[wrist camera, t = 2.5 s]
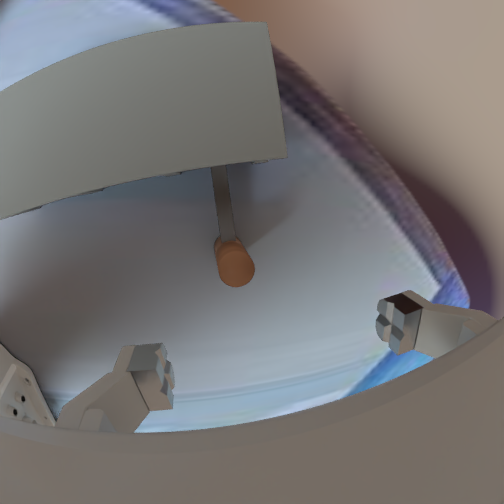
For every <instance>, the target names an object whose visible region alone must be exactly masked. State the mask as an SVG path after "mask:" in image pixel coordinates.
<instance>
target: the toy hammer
mask: <svg viewBox="0 0 504 504" xmlns="http://www.w3.org/2000/svg"><path fill="white" fill-rule="evenodd" d="M211 173H212V180H213V188H214V195H215V202H216V209H217V216H218V223H219V230H220V237H218V239H217V240H216V242H215V244H214V250H215V255H216V261H217V266H218V271H219V275H220V278H221V280H222V281H223V282H224V283H225V284H227V285H229V286H231V287H241V286H244V285H246V284H247V283H248V282H250V280H251V279H252V278H253V276H254V272H255V267H254V263H253V261H252V259H251V258H250V256H249V255H248V253H247V251H246V250H245V248H244V247H243V245H242V243H241V242H240V240H239V239H238V238H237V237H236V236H235V229H234V221H233V214H232V207H231V199H230V192H229V184H228V177H227V169H226V165H221V166H214V167H211Z"/></svg>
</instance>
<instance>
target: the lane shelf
mask: <svg viewBox="0 0 504 504" xmlns="http://www.w3.org/2000/svg"><path fill="white" fill-rule="evenodd" d="M283 158H288V157H287V149H286V141H285V133H284V125H283V118H282V111H281V104H280V97H279V90H278V84H277V77H276V71H275V65H274V59H273V53H272V48H271V42H270V37H269V31H268V26H267V22H230V23H214V24H203V25H194V26H186V27H179V28H173V29H167V30H161V31H156V32H151V33H146V34H142V35H138V36H133V37H129V38H126V39H122V40H118V41H115V42H111V43H108V44H105V45H102V46H99V47H95V48H93V49H90V50H87V51H84V52H81V53H79V54H76V55H73V56H71V57H68V58H66V59H63V60H61V61H59V62H56V63H54V64H52V65H50V66H48V67H45V68H43V69H41V70H39V71H37V72H35V73H33V74H31V75H29V76H27V77H25V78H24V79H22V80H20V81H18V82H16V83H15V84H13V85H11V86H9V87H8V88H6V89H4V90H3V91H1V92H0V220H2V219H5V218H8V217H12V216H15V215H19V214H22V213H26V212H29V211H33V210H36V209H39V208H41V205H45V204H48V203H51V202H54V201H58V200H61V199H64V198H69V197H74V196H80V195H85V194H91V193H95V192H99V191H103V188H105V187H109V186H114V185H118V184H122V183H127V182H131V181H136V180H140V179H145V178H150V177H155V176H174V175H179V174H181V172H182V171H188V170H194V169H200V168H207V167H214V166H221V165H228V164H236V163H244V162H252V164H257V163H265V162H268V160H273V159H283Z"/></svg>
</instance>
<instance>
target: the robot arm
mask: <svg viewBox="0 0 504 504" xmlns="http://www.w3.org/2000/svg"><path fill="white" fill-rule="evenodd" d="M377 311H378V312H379V316H378V317H377V319H376V331H377V334H378V336H379V338H380V339H381V340H382V341H385V342H388V343H389V348H390V349H391V350H393V351H394V352H395V353H396V354H397V355H400V354H403V353H405V352H408V351H410V350H413V349H414V350H416V351H418V352H421V353H423V354H426V355H428V356H431V357H433V358H436V359H434V360H432V361H430V362H429V363H427V364H425V365H423V366H421V367H418V368H416V369H414V370H412V371H410V372H408V373H406V374H404V375H401V376H399V377H397V378H395V379H392V380H390V381H387V382H385V383H383V384H380V385H378V386H375V387H373V388H370V389H368V390H365V391H362V392H359V393H357V394H354V395H351V396H348V397H345V398H342V399H339V400H336V401H333V402H330V403H327V404H323V405H320V406H317V407H313V408H309V409H306V410H302V411H298V412H294V413H290V414H286V415H282V416H278V417H273V418H269V419H264V420H259V421H254V422H248V423H243V424H237V425H230V426H224V427H216V428H208V429H199V430H189V431H176V432H152V433H133V432H134V431H135V430H136V429H137V428H138V426H139V425H140V424H141V423H142V421H143V420H144V419H145V417H146V416H147V415H148V414H149V411H156V410H168V409H173V399H174V395H173V393H172V389H173V388H174V385H175V380H174V372H173V368H172V365H171V362H169V361H168V360H167V350H166V348H165V345H164V344H163V343H154V344H142V345H129V346H123V347H122V349H121V351H120V354H119V356H118V359H117V361H116V364H115V366H114V369H113V372H112V373H108V374H106V375H105V376H103V377H102V378H101V379H99V380H98V381H97V382H95V383H94V384H93V385H91V386H90V387H89V388H87V389H86V390H84V391H83V392H82V393H80V394H79V395H78V396H76V397H75V398H74V399H72V400H71V401H69V402H68V403H67V404H65V405H64V406H63V408H62V410H61V413H60V415H59V417H58V419H57V422H56V421H55V419H54V417H53V415H52V413H51V411H50V410H49V408H48V406H47V404H46V401H45V399H44V397H43V395H42V393H41V391H40V389H39V386H38V384H37V382H36V379H35V377H34V375H33V372H32V371H31V369H30V368H29V367H28V366H26V365H25V364H24V363H22V362H20V361H19V360H17V359H16V358H14V357H13V356H12V355H11V354H10V353H9V352H8V351H7V350H6V349H5V348H4V347H3V346H2V345H1V344H0V504H504V317H503V318H502V319H500V320H496V319H495V318H493V317H492V316H490V315H488V314H487V313H485V312H483V311H479V310H472V309H466V308H460V307H454V306H448V305H442V304H432V303H431V302H429V301H428V300H426V299H424V298H423V297H421V296H420V295H418V294H416V293H415V292H413V291H411V290H407V291H405V292H402V293H399V294H396V295H393V296H390V297H387V298H384V299H381V300H379V302H378V305H377Z"/></svg>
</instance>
